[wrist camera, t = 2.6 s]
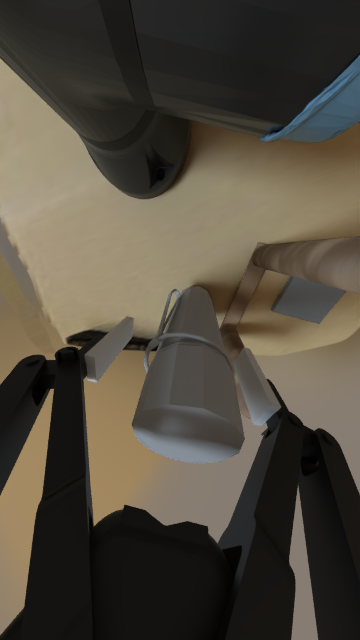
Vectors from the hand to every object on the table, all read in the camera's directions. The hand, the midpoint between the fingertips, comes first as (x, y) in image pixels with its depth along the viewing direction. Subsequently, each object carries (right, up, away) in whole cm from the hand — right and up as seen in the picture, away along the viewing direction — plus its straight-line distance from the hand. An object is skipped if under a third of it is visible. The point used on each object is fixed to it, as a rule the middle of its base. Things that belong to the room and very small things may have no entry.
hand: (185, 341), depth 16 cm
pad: (+25, +8, +11) cm, 28 cm away
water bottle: (+2, +7, +14) cm, 16 cm away
